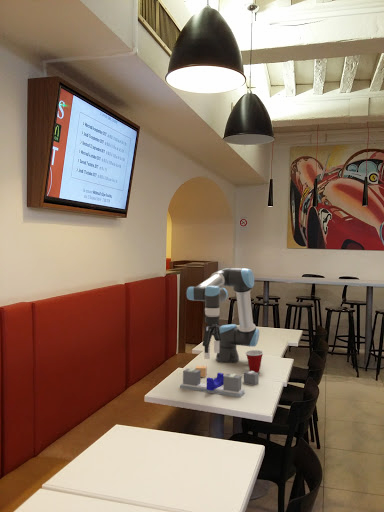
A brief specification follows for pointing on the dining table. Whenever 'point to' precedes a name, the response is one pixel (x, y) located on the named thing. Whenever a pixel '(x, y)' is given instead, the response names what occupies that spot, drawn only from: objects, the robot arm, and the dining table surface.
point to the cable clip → (215, 382)
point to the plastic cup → (254, 359)
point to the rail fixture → (229, 388)
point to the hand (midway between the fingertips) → (211, 355)
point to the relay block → (251, 377)
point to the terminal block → (202, 370)
